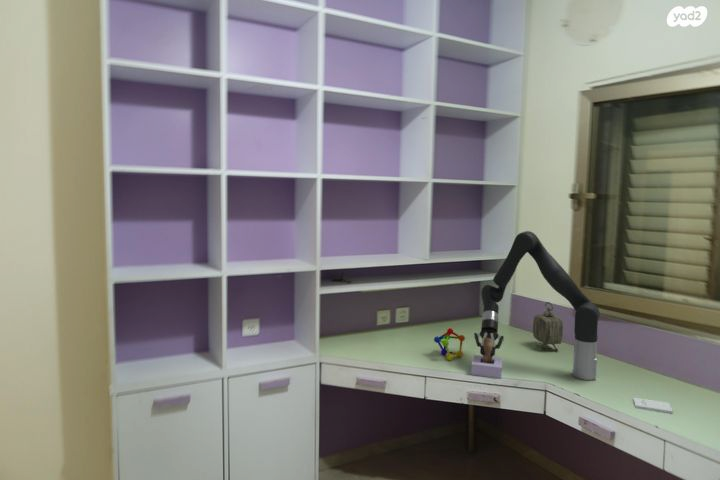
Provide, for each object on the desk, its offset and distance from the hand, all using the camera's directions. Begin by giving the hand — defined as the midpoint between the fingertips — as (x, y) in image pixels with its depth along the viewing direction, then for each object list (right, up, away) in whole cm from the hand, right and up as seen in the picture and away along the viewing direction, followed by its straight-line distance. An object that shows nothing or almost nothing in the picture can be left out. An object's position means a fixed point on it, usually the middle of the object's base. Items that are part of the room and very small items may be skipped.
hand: (487, 355), depth 220 cm
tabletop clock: (+41, -5, +37) cm, 55 cm away
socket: (0, -8, +3) cm, 9 cm away
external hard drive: (+56, -13, -31) cm, 66 cm away
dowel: (+1, -7, +3) cm, 7 cm away
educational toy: (-14, -6, +22) cm, 27 cm away
